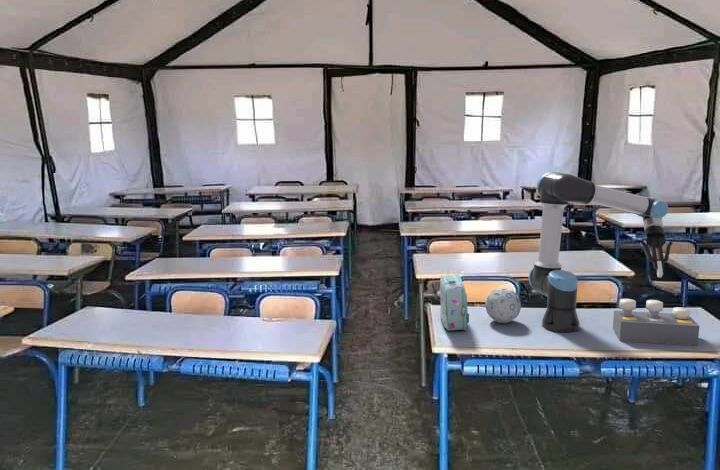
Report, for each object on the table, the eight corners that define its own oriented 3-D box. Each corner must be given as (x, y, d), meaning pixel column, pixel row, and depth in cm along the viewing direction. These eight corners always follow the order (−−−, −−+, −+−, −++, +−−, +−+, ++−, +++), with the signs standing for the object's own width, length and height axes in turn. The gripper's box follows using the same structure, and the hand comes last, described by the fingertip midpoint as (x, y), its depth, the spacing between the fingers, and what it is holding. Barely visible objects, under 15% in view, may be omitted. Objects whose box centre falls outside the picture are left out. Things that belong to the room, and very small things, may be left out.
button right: (673, 330, 228) (675, 311, 226) (669, 325, 233) (671, 306, 232) (690, 331, 226) (692, 312, 225) (685, 326, 232) (687, 307, 230)
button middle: (646, 323, 229) (648, 303, 228) (643, 318, 235) (644, 299, 234) (663, 323, 228) (664, 304, 227) (659, 319, 234) (660, 300, 232)
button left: (620, 321, 232) (621, 302, 230) (617, 316, 237) (618, 298, 236) (636, 322, 230) (637, 303, 229) (632, 317, 236) (634, 299, 235)
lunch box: (470, 335, 237) (471, 285, 233) (445, 335, 237) (445, 285, 233) (460, 314, 263) (461, 269, 259) (438, 314, 263) (438, 269, 259)
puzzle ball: (483, 325, 247) (484, 292, 245) (487, 314, 261) (487, 283, 259) (519, 329, 243) (520, 295, 240) (521, 317, 257) (522, 285, 254)
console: (619, 340, 227) (620, 321, 226) (612, 328, 241) (613, 310, 239) (697, 345, 221) (699, 325, 219) (686, 333, 234) (687, 313, 233)
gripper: (668, 235, 254) (675, 281, 241) (636, 233, 257) (641, 279, 244) (672, 225, 248) (679, 271, 235) (639, 224, 251) (645, 270, 238)
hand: (660, 275), depth 240 cm, fingers closed
